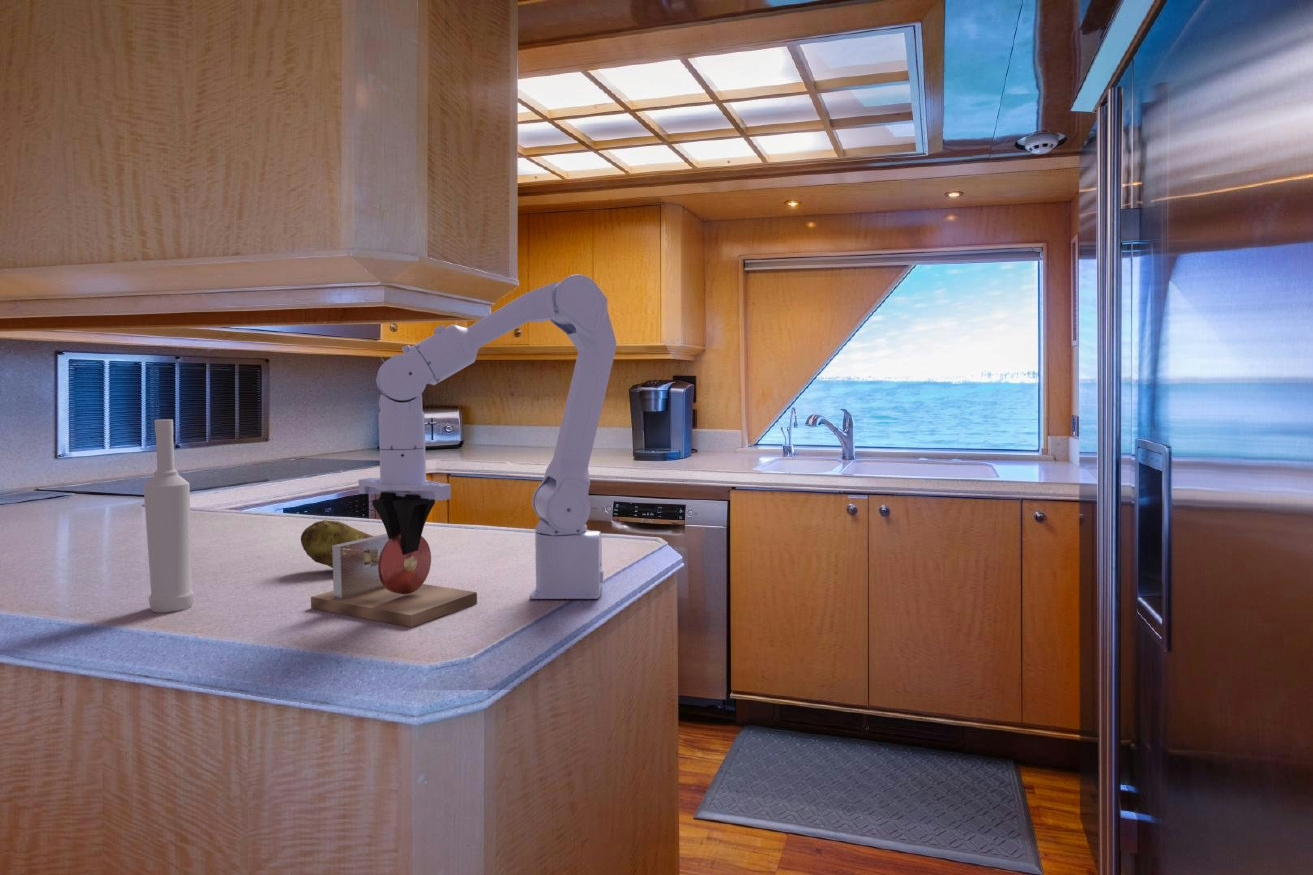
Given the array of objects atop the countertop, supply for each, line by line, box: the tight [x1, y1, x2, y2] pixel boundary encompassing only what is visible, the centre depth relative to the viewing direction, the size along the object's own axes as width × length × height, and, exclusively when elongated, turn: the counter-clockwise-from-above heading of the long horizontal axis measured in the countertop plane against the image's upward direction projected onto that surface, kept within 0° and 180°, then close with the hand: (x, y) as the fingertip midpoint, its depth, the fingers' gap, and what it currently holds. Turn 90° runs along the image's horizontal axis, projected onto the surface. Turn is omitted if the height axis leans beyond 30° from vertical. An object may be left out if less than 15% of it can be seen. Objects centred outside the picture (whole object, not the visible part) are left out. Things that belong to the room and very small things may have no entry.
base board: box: [310, 583, 478, 628], centre depth 108 cm, size 18×12×2 cm, turn 62°
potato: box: [300, 519, 374, 569], centre depth 128 cm, size 8×13×8 cm, turn 82°
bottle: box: [143, 418, 195, 614], centre depth 106 cm, size 5×5×25 cm
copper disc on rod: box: [364, 533, 432, 594], centre depth 108 cm, size 11×8×8 cm
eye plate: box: [332, 533, 389, 600], centre depth 110 cm, size 2×10×7 cm, turn 152°
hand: (405, 551), depth 106 cm, fingers closed on copper disc on rod
